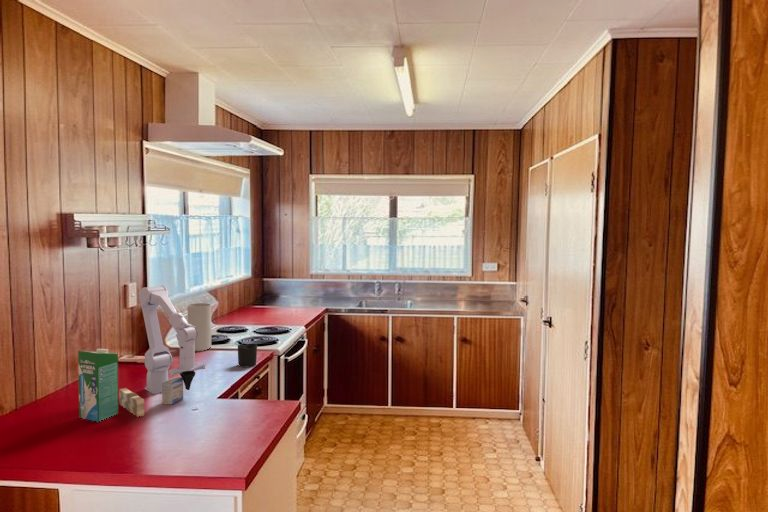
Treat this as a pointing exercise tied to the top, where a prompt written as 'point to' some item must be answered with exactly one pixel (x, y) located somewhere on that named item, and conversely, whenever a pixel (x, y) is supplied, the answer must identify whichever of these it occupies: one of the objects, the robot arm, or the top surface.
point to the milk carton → (98, 384)
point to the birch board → (131, 402)
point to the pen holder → (247, 354)
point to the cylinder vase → (201, 324)
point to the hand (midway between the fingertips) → (187, 389)
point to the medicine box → (172, 390)
